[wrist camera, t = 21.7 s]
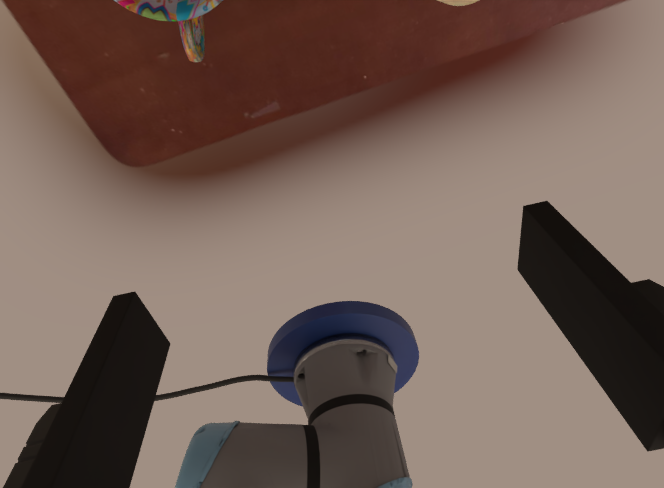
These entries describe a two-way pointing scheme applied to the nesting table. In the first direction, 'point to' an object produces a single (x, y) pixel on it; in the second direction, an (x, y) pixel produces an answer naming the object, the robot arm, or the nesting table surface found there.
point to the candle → (458, 2)
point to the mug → (178, 19)
